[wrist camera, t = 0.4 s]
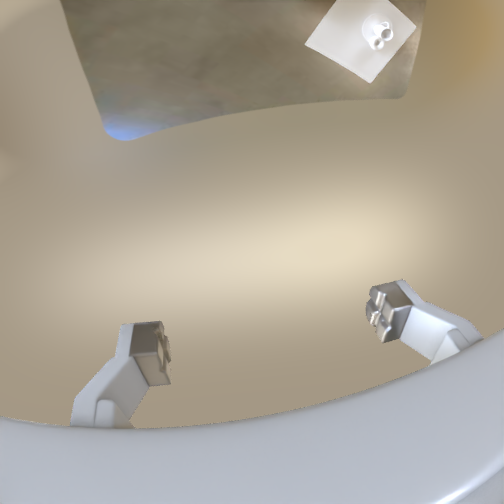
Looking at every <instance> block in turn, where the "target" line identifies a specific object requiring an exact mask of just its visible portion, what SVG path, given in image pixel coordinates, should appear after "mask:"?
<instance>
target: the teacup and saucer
mask: <svg viewBox="0 0 504 504" xmlns="http://www.w3.org/2000/svg"><path fill="white" fill-rule="evenodd" d="M375 22H378V23H380V24H376V25H375V26H374V27H373V32H374V33H375V34H376V35H373V34H372V30H371V27H372V25H373V24H374V23H375ZM361 31H362V35H363V37H364V39H365V40H366V41H367V42H368V43H369V45H370V47H371V48H372V49H373V50H374V51H376V52H380V51H382V50H383V49H384V48H385V46H386V43H387V42H389V41H391V40H392V39H393V37H394V31H395V27H394V23H393V21H392V20H391V19H390V18H389V17H388V16H387V15H386V14H383V13H373V14H371V15H369V16H368V17H367V18H366V19H365V20H364V22H363V24H362V28H361Z"/></svg>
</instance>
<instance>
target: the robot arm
mask: <svg viewBox="0 0 504 504" xmlns="http://www.w3.org/2000/svg"><path fill="white" fill-rule="evenodd" d="M369 295H370V297H371V299H370V300H369V301H368V302H367V305H366V316H367V319H368V321H369V323H370V324H371V325H373V326H375V327H376V331H375V332H376V334H377V335H378V337H379V338H380V340H381V342H382V343H385V342H389V341H392V340H396V339H399V338H400V340H401V341H402V342H404V343H406V344H407V345H408V346H410V347H411V348H413V349H414V350H416V351H417V352H419V353H420V354H422V355H423V356H425V357H427V358H428V359H430V360H431V363H430V365H429V366H427V367H425V368H423V369H420V370H418V371H415V372H413V373H410V374H408V375H405V376H403V377H400V378H398V379H395V380H392V381H390V382H387V383H384V384H381V385H378V386H375V387H373V388H370V389H367V390H364V391H361V392H357V393H354V394H351V395H348V396H344V397H341V398H338V399H334V400H330V401H327V402H323V403H319V404H315V405H311V406H307V407H303V408H299V409H295V410H290V411H285V412H281V413H276V414H271V415H265V416H260V417H254V418H248V419H242V420H235V421H229V422H221V423H213V424H204V425H194V426H182V427H167V428H139V429H136V428H135V427H134V426H133V425H132V424H131V423H130V421H129V420H130V418H131V417H132V415H133V413H134V411H135V410H136V408H137V407H138V405H139V404H140V402H141V400H142V399H143V397H144V395H145V394H146V392H147V391H148V389H149V386H159V385H169V384H171V369H170V367H169V362H170V361H171V352H170V345H169V341H168V338H167V336H165V335H164V326H163V324H162V322H161V321H154V322H143V323H133V324H123V325H122V326H121V328H120V334H119V338H118V344H117V349H116V355H115V357H114V358H111V359H110V360H109V361H108V362H107V363H106V364H105V365H104V366H103V367H102V369H101V370H100V371H99V372H98V373H97V374H96V375H95V376H94V378H92V380H91V381H90V382H89V383H88V384H87V385H86V386H85V387H84V388H83V389H82V391H81V392H80V393H79V394H78V395H77V396H76V397H75V400H74V405H73V410H72V416H71V422H70V426H62V425H53V424H44V423H37V422H30V421H24V420H18V419H12V418H8V417H3V416H0V504H504V328H503V329H501V330H499V331H498V332H496V333H494V334H492V335H490V336H489V337H487V338H485V339H484V338H483V336H482V335H481V334H480V333H479V332H478V330H477V329H476V328H475V327H474V326H473V324H472V323H471V322H470V321H468V320H466V319H464V318H462V317H460V316H458V315H455V314H453V313H451V312H449V311H447V310H444V309H442V308H440V307H438V306H435V305H433V304H431V303H429V302H423V300H422V299H421V298H420V297H419V296H418V295H417V294H416V292H415V291H414V290H413V289H412V288H411V287H410V286H409V284H408V283H407V282H406V281H405V280H403V279H402V280H398V281H394V282H390V283H385V284H381V285H377V286H372V288H371V289H370V293H369Z"/></svg>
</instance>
